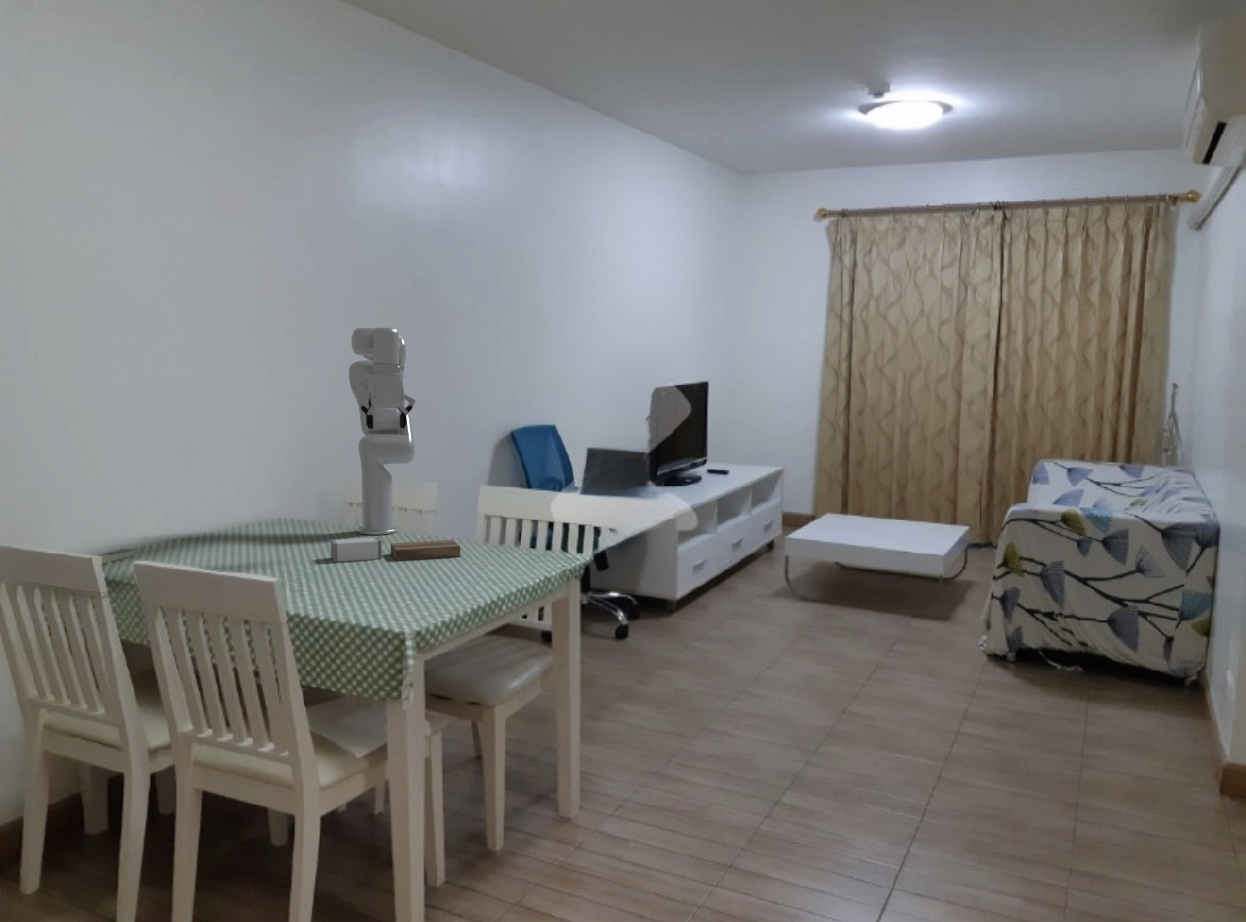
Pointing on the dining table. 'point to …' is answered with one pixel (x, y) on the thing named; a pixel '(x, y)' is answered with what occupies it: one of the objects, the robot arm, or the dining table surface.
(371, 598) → the dining table surface
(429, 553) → the walnut stand
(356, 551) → the block
